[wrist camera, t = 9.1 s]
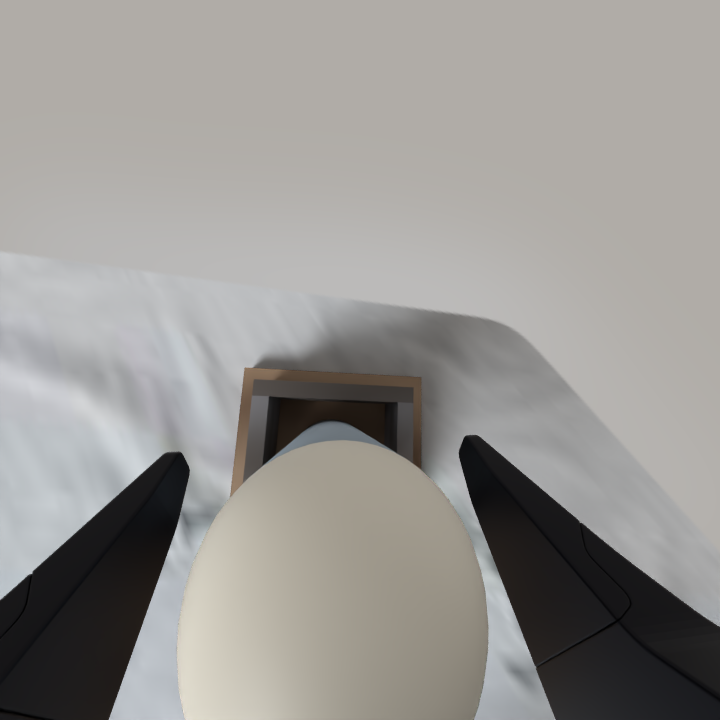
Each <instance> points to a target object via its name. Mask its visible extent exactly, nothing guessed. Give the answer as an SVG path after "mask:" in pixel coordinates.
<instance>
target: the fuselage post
mask: <svg viewBox="0 0 720 720" xmlns="http://www.w3.org/2000/svg"><path fill="white" fill-rule="evenodd" d="M487 653H488V617H487V606H486V595H485V588H484V583H483V579H482V574H481V570H480V566H479V563H478V560H477V557H476V554H475V551H474V548H473V545H472V542H471V539H470V537H469V535H468V533H467V531H466V529H465V526H464V524H463V522H462V521H461V519H460V517H459V516H458V514H457V512H456V511H455V509H454V507H453V506H452V504H451V503H450V501H449V499H448V498H447V497H446V496H445V494H444V493H443V492H442V491H441V489H440V488H439V487H438V486H437V485H436V484H435V483H434V482H433V481H432V480H431V479H430V478H429V477H428V476H427V475H426V474H425V473H424V472H423V471H422V470H421V469H419V468H418V467H417V466H415V465H414V464H413V463H411V462H410V461H408V460H407V459H406V458H404V457H402V456H401V455H399V454H397V453H396V452H394V451H392V450H391V449H389V448H388V447H386V446H384V445H383V444H381V443H379V442H378V441H376V440H374V439H373V438H371V437H370V436H368V435H366V434H365V433H363V432H361V431H360V430H358V429H356V428H355V427H353V426H352V425H350V424H348V423H346V422H343V421H340V420H334V419H328V420H322V421H319V422H317V423H315V424H313V425H311V426H310V427H308V428H307V429H306V430H305V431H304V432H302V433H301V434H300V435H299V436H298V437H296V438H295V439H294V440H293V441H292V442H291V443H289V444H288V445H287V446H286V447H285V448H283V449H282V450H281V451H280V452H279V453H277V454H276V455H275V456H274V457H273V458H272V459H270V460H269V461H268V462H267V463H266V464H264V465H263V466H262V467H261V468H260V469H259V470H257V471H256V472H255V473H254V474H253V475H251V476H250V477H249V478H248V479H247V480H246V481H245V482H244V483H243V484H242V485H241V486H240V487H239V488H238V489H237V490H236V491H235V492H234V494H233V495H232V496H231V497H230V498H229V500H228V501H227V502H226V504H225V505H224V506H223V508H222V509H221V510H220V512H219V513H218V514H217V516H216V518H215V519H214V521H213V523H212V524H211V526H210V528H209V529H208V531H207V533H206V535H205V537H204V539H203V541H202V544H201V546H200V548H199V550H198V553H197V555H196V557H195V560H194V562H193V564H192V567H191V570H190V574H189V577H188V580H187V583H186V587H185V591H184V596H183V601H182V607H181V612H180V618H179V623H178V637H177V668H178V685H179V693H180V698H181V704H182V709H183V714H184V717H185V720H474V718H475V715H476V712H477V709H478V706H479V701H480V697H481V693H482V689H483V684H484V676H485V669H486V661H487Z"/></svg>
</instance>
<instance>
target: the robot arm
mask: <svg viewBox="0 0 720 720" xmlns="http://www.w3.org/2000/svg"><path fill="white" fill-rule="evenodd" d="M459 458H460V462H461V466H462V469H463V473H464V477H465V480H466V484H467V488H468V491H469V495H470V498H471V502H472V504H473V507H474V510H475V513H476V515H477V518H478V520H479V523H480V525H481V528H482V531H483V533H484V536H485V538H486V541H487V543H488V546H489V549H490V551H491V554H492V556H493V559H494V561H495V564H496V567H497V569H498V572H499V574H500V577H501V579H502V582H503V585H504V587H505V590H506V592H507V595H508V597H509V600H510V603H511V605H512V608H513V610H514V613H515V616H516V618H517V621H518V623H519V626H520V628H521V631H522V634H523V636H524V639H525V641H526V644H527V646H528V649H529V652H530V654H531V657H532V659H533V662H534V664H535V666H536V670H537V673H538V675H539V678H540V680H541V683H542V686H543V688H544V691H545V693H546V696H547V698H548V701H549V704H550V706H551V709H552V711H553V714H554V716H555V719H556V720H720V627H719V626H717V625H716V624H714V623H713V622H711V621H709V620H708V619H706V618H705V617H703V616H702V615H700V614H699V613H698V612H696V611H695V610H693V609H692V608H691V607H689V606H688V605H687V604H685V603H684V602H683V601H681V600H680V599H679V598H677V597H676V596H675V595H673V594H672V593H671V592H669V591H668V590H667V589H665V588H664V587H663V586H661V585H660V584H659V583H657V582H656V581H655V580H653V579H652V578H651V577H649V576H648V575H647V574H645V573H644V572H643V571H641V570H640V569H639V568H637V567H636V566H635V565H633V564H632V563H631V562H629V561H628V560H627V559H626V558H624V557H623V556H622V555H620V554H619V553H618V552H616V551H615V550H614V549H613V548H611V547H610V546H609V545H608V544H607V543H605V542H604V541H603V540H602V539H600V538H599V537H598V536H597V535H596V534H594V533H593V532H592V531H591V530H590V529H588V528H587V527H586V526H585V525H584V524H582V523H580V522H579V520H578V519H576V518H575V517H574V516H573V515H572V514H571V513H569V512H568V511H567V510H566V509H565V508H563V507H562V506H561V505H560V504H559V503H557V502H556V501H555V500H554V499H553V498H552V497H550V496H549V495H548V494H547V493H546V492H544V491H543V490H542V489H541V488H540V487H539V486H537V485H536V484H535V483H534V482H533V481H531V480H530V479H529V478H528V477H527V476H526V475H524V474H523V473H522V472H521V471H520V470H518V469H517V468H516V467H515V466H514V465H512V464H511V463H510V462H509V461H508V460H507V459H505V458H504V457H503V456H502V455H501V454H499V453H498V452H497V451H496V450H495V449H494V448H492V447H491V446H490V445H489V444H488V443H486V442H485V441H484V440H483V439H482V438H481V437H479V436H477V435H467V436H465V437H464V439H463V442H462V444H461V447H460V450H459ZM189 473H190V470H189V466H188V464H187V462H186V460H185V458H184V456H183V454H182V453H181V452H167V453H165V454H163V455H162V456H161V457H160V458H159V459H158V460H156V461H155V462H154V463H153V464H152V465H151V466H150V467H149V468H148V469H146V470H145V471H144V472H143V473H142V474H141V475H140V476H139V477H138V478H136V479H135V480H134V481H133V482H132V483H131V484H130V485H129V486H127V487H126V488H125V489H124V490H123V491H122V492H121V493H120V494H119V495H117V496H116V497H115V498H114V499H113V500H112V501H111V502H110V503H108V504H107V505H106V506H105V507H104V508H103V509H102V510H101V511H100V512H98V513H97V514H96V515H95V516H94V517H93V518H92V519H91V520H90V521H88V522H87V523H86V524H85V525H84V526H83V527H82V528H81V529H79V530H78V531H77V532H76V533H75V534H74V535H73V536H72V537H71V538H69V539H68V540H67V541H66V542H65V543H64V544H63V545H62V546H61V547H59V548H58V549H57V550H56V551H55V552H54V553H53V554H52V555H50V556H49V557H48V558H47V559H46V560H45V561H44V562H43V563H42V564H40V565H39V566H38V567H37V568H36V569H35V570H34V571H33V573H32V574H30V575H28V576H27V577H26V578H25V579H24V580H22V581H21V582H20V583H19V584H18V585H17V586H16V587H15V588H13V589H12V590H11V591H10V592H9V593H8V594H7V595H6V596H4V597H3V598H2V599H1V600H0V720H109V717H110V714H111V711H112V709H113V706H114V703H115V700H116V697H117V694H118V692H119V689H120V686H121V683H122V680H123V678H124V675H125V672H126V669H127V666H128V663H129V661H130V658H131V655H132V652H133V649H134V646H135V644H136V641H137V638H138V635H139V632H140V630H141V627H142V624H143V621H144V618H145V615H146V613H147V610H148V607H149V604H150V601H151V598H152V596H153V593H154V590H155V587H156V584H157V582H158V579H159V576H160V573H161V570H162V567H163V565H164V562H165V559H166V556H167V553H168V550H169V548H170V545H171V542H172V539H173V536H174V533H175V530H176V527H177V524H178V520H179V516H180V512H181V508H182V504H183V499H184V495H185V491H186V487H187V483H188V478H189Z"/></svg>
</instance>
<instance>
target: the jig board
mask: <svg viewBox="0 0 720 720" xmlns="http://www.w3.org/2000/svg"><path fill="white" fill-rule="evenodd" d="M328 419H334V420H340V421H343V422H346V423H348V424H350V425H352V426H353V427H355V428H356V429H358V430H360V431H361V432H363V433H365V434H366V435H368V436H370V437H371V438H373V439H374V440H376V441H378V442H379V443H381V444H383V445H384V446H386V447H388V448H389V449H391V450H392V451H394V452H396V453H397V454H399V455H401V456H402V457H404V458H406V459H407V460H408V461H410V462H411V463H413V464H414V465H415V466H417V467H418V468H419V469H421V377H406V376H388V375H370V374H352V373H333V372H315V371H297V370H279V369H260V368H245V370H244V379H243V388H242V396H241V405H240V414H239V423H238V432H237V441H236V450H235V459H234V467H233V476H232V485H231V494H230V497H231V496H232V495H233V494H234V492H235V491H236V490H237V489H238V488H239V487H240V486H241V485H242V484H243V483H244V482H245V481H246V480H247V479H248V478H249V477H250V476H251V475H253V474H254V473H255V472H256V471H257V470H259V469H260V468H261V467H262V466H263V465H264V464H266V463H267V462H268V461H269V460H270V459H272V458H273V457H274V456H275V455H276V454H277V453H279V452H280V451H281V450H282V449H283V448H285V447H286V446H287V445H288V444H289V443H291V442H292V441H293V440H294V439H295V438H296V437H298V436H299V435H300V434H301V433H302V432H304V431H305V430H306V429H307V428H308V427H310V426H311V425H313V424H315V423H317V422H319V421H322V420H328Z"/></svg>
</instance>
